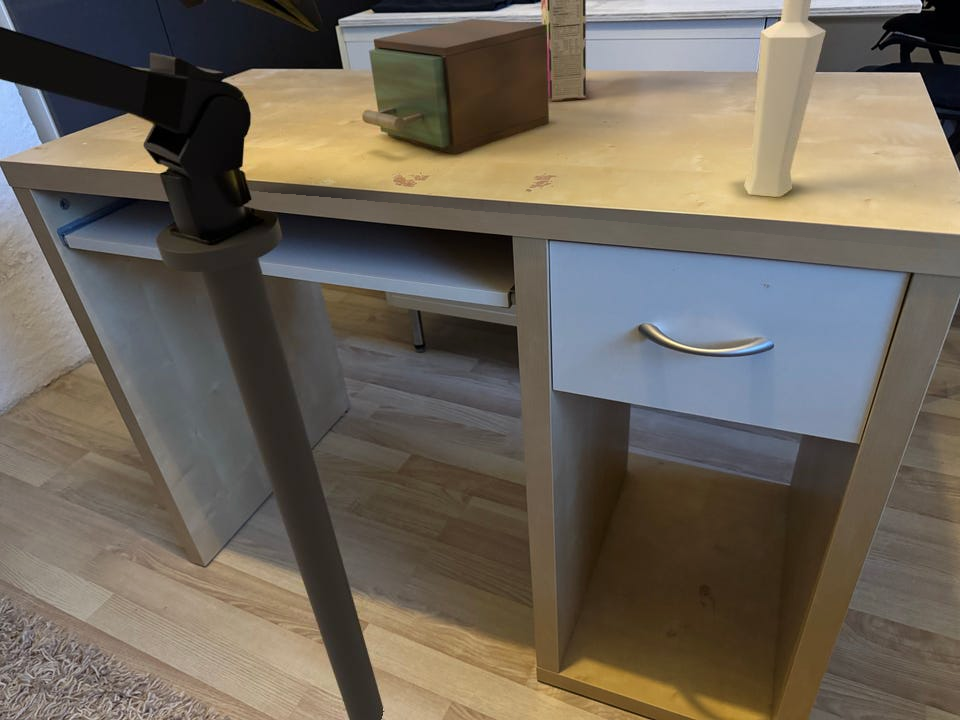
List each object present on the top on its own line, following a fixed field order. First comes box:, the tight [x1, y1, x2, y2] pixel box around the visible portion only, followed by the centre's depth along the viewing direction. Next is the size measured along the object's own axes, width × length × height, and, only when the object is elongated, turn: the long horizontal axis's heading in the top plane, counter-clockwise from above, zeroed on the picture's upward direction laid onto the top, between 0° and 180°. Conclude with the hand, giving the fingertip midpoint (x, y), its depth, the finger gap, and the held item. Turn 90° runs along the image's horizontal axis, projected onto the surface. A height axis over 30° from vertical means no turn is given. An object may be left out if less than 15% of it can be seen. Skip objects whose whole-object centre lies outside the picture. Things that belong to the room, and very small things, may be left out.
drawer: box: [361, 48, 451, 148], centre depth 77 cm, size 17×11×9 cm, turn 132°
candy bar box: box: [540, 0, 587, 102], centre depth 89 cm, size 11×5×16 cm, turn 0°
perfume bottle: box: [743, 0, 826, 198], centre depth 55 cm, size 5×4×15 cm
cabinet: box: [373, 18, 550, 155], centre depth 78 cm, size 15×13×11 cm
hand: (318, 27), depth 65 cm, fingers closed
